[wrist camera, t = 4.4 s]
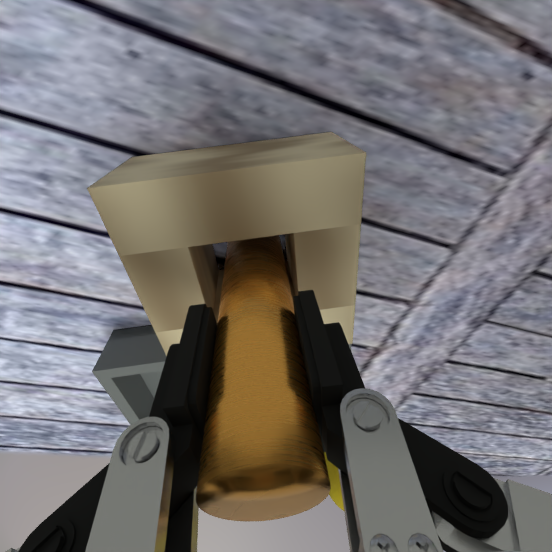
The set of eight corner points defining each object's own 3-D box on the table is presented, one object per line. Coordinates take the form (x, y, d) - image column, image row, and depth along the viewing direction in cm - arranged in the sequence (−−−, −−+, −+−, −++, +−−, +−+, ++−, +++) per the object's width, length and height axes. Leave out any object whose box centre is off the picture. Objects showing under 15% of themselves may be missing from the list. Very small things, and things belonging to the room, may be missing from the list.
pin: (278, 216, 16) (331, 455, 6) (282, 264, 17) (330, 511, 7) (222, 223, 16) (178, 476, 6) (232, 270, 17) (212, 527, 7)
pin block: (331, 131, 15) (366, 152, 10) (330, 289, 20) (352, 343, 16) (132, 156, 14) (87, 187, 10) (187, 309, 20) (172, 368, 16)
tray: (336, 299, 21) (352, 335, 18) (334, 384, 26) (346, 421, 24) (113, 330, 20) (92, 371, 18) (159, 409, 26) (149, 450, 23)
